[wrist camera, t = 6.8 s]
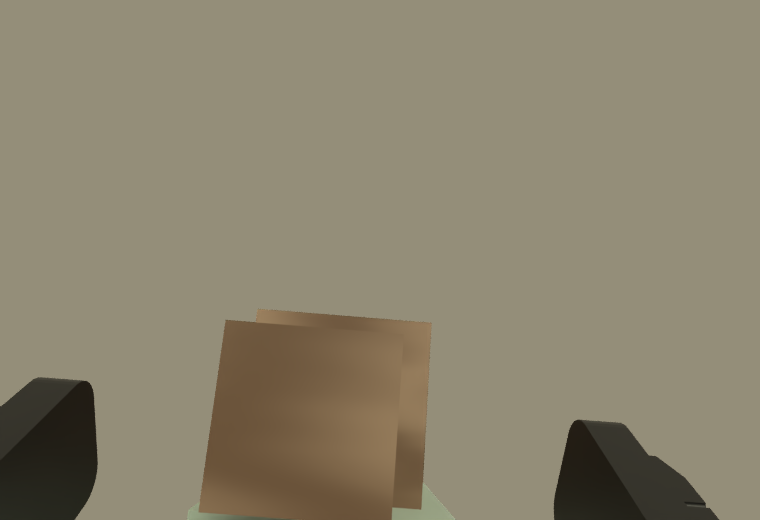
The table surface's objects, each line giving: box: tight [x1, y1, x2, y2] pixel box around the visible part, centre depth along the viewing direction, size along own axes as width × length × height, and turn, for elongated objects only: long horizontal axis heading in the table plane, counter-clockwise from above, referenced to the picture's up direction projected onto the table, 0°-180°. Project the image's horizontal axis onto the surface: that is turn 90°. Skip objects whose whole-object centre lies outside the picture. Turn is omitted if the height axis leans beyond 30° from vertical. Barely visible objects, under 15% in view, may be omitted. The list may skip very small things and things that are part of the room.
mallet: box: [198, 309, 431, 520], centre depth 16 cm, size 6×17×6 cm, turn 2°
